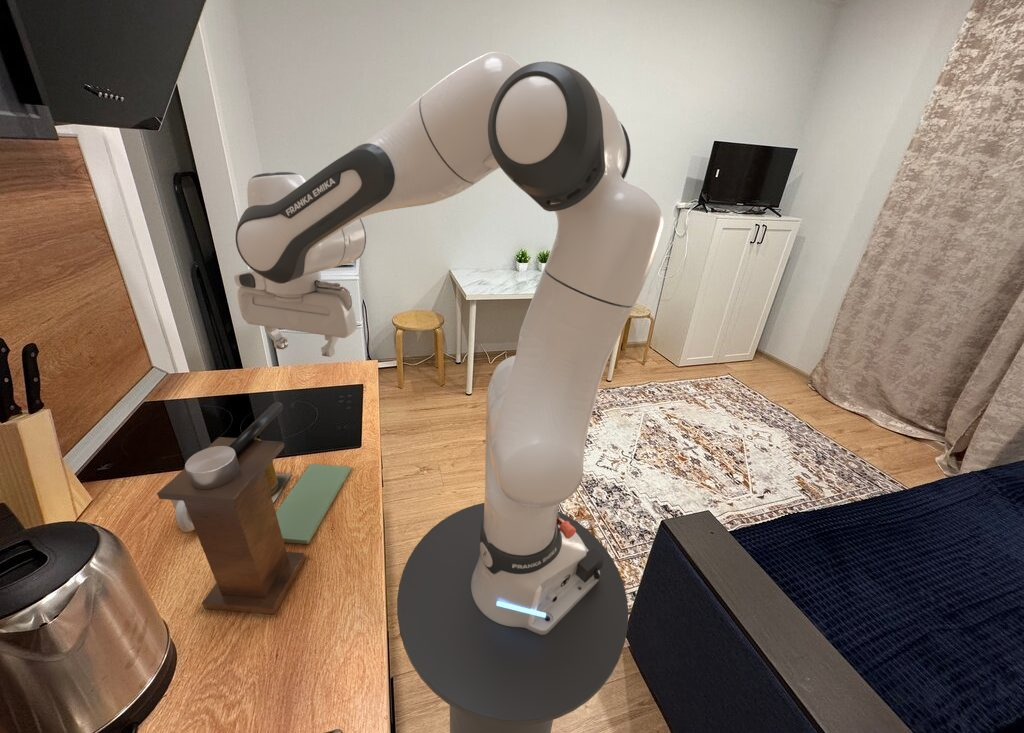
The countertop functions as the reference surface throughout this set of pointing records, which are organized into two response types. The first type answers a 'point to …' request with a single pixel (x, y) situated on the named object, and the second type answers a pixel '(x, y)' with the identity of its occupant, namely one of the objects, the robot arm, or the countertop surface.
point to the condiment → (275, 480)
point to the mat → (309, 502)
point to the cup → (182, 516)
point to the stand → (240, 533)
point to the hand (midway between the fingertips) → (305, 351)
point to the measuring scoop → (225, 455)
